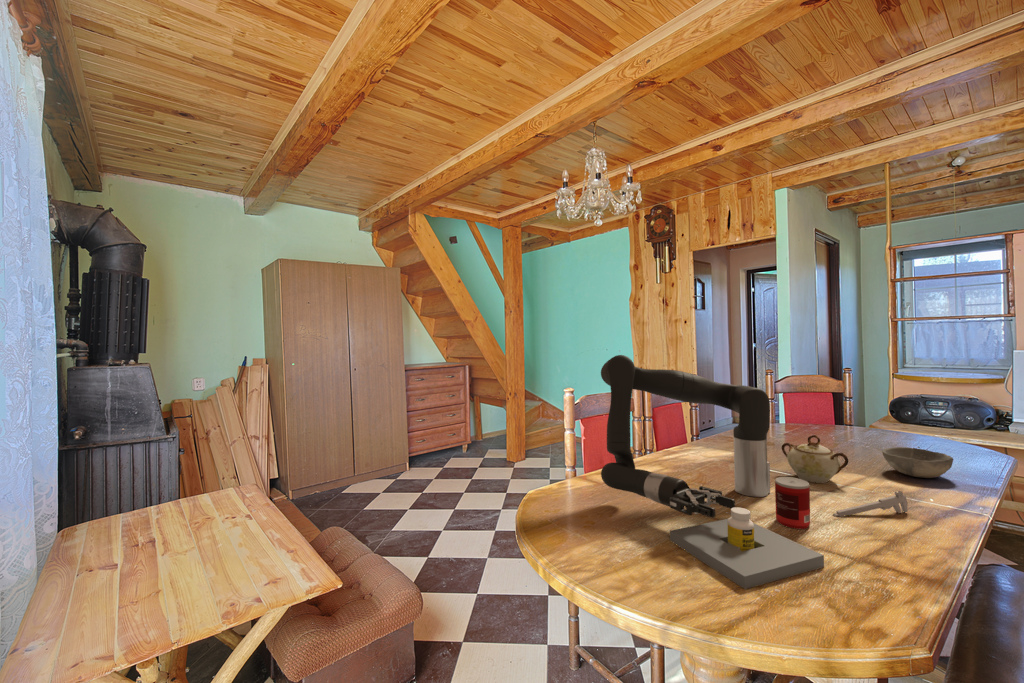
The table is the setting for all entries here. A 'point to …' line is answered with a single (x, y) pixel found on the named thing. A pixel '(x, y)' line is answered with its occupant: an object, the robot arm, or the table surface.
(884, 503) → the caliper
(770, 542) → the socket board
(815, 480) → the sugar bowl
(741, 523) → the supplement bottle
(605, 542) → the table surface
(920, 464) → the bowl
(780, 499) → the canned food
